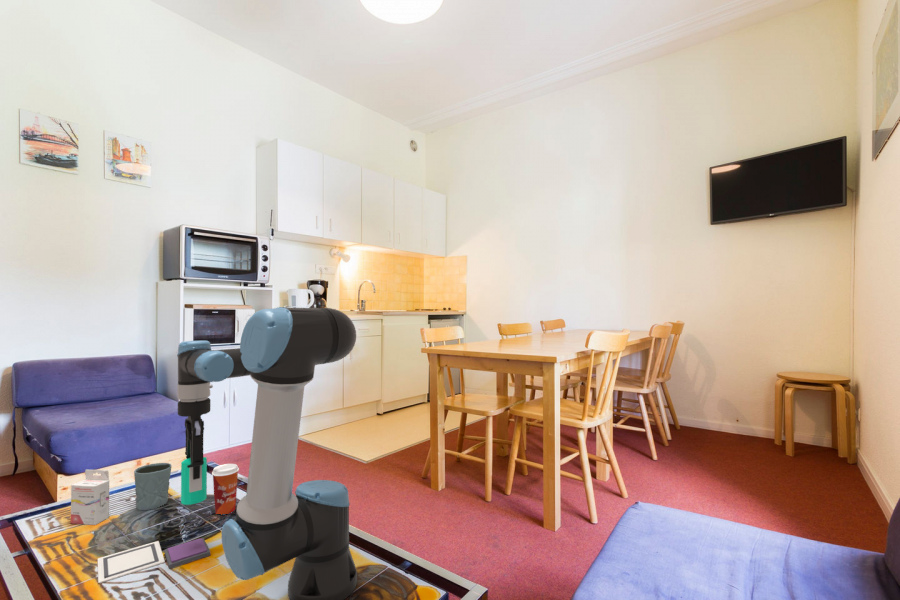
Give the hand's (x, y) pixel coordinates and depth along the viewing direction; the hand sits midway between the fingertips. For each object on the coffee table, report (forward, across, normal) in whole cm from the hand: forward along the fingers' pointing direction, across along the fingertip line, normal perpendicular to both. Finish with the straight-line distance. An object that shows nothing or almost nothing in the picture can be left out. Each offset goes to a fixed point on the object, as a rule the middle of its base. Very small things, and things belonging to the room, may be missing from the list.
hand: (193, 486), depth 114 cm
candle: (+4, 0, 0) cm, 4 cm away
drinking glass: (+17, +41, +6) cm, 45 cm away
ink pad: (+17, -1, +2) cm, 17 cm away
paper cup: (+17, +20, -11) cm, 29 cm away
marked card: (+17, +5, +13) cm, 22 cm away
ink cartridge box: (+17, +40, +22) cm, 49 cm away
